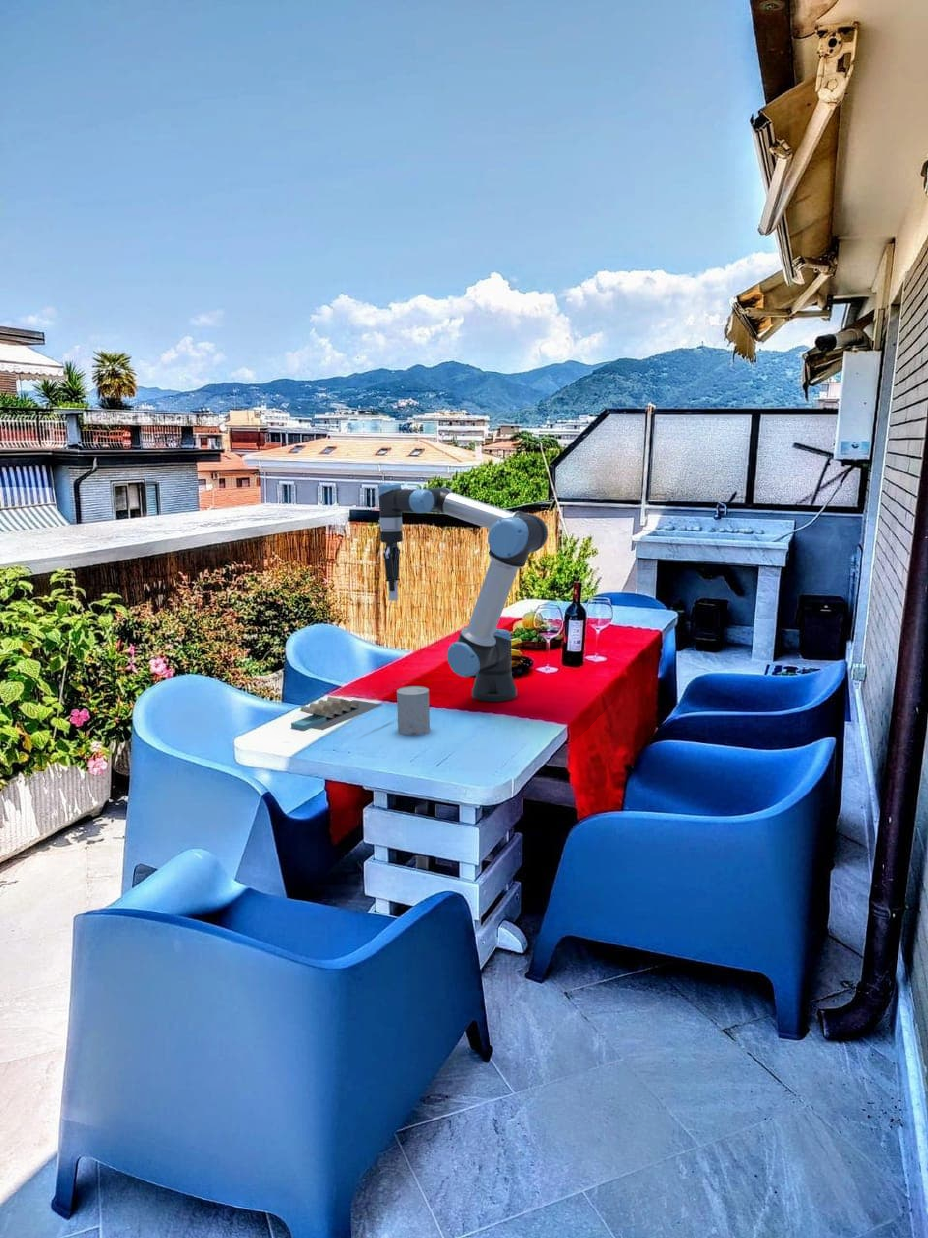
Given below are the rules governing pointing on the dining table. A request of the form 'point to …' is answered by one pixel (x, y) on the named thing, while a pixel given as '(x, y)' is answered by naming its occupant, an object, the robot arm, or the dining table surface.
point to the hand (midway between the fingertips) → (393, 600)
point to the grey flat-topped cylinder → (413, 710)
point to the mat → (347, 714)
